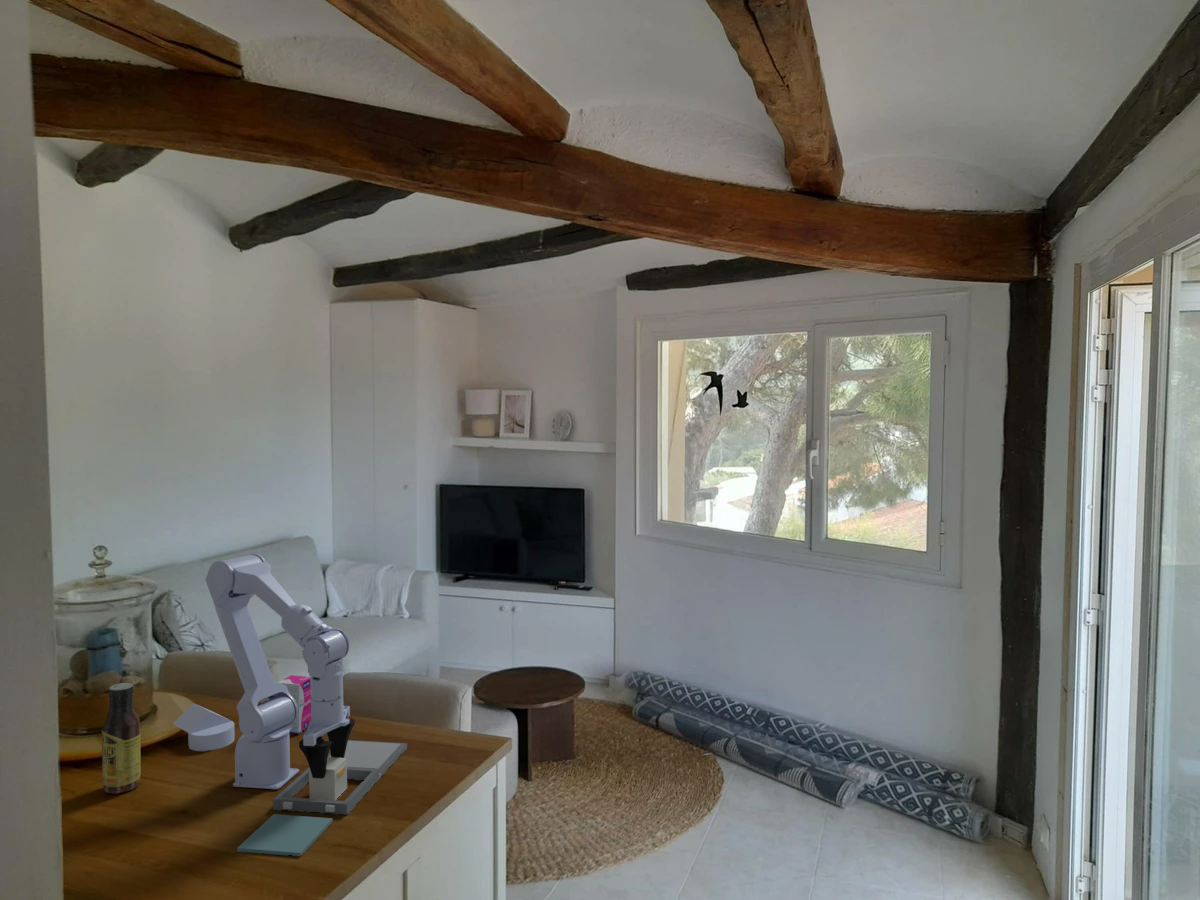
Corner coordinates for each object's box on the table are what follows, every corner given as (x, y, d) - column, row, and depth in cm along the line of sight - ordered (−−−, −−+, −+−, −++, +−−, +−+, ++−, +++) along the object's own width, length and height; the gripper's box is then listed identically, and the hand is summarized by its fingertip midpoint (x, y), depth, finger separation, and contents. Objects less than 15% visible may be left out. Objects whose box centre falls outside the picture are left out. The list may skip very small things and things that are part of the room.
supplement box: (299, 735, 175) (298, 684, 175) (275, 733, 176) (274, 682, 176) (313, 725, 181) (313, 676, 180) (290, 723, 182) (289, 674, 181)
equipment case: (271, 811, 141) (271, 800, 141) (345, 744, 170) (344, 735, 170) (345, 816, 139) (345, 805, 139) (407, 748, 168) (407, 738, 168)
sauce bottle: (98, 788, 150) (95, 685, 149) (134, 777, 155) (132, 677, 154) (109, 799, 146) (106, 693, 145) (146, 788, 150) (143, 685, 149)
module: (309, 799, 146) (308, 768, 146) (322, 787, 151) (321, 756, 150) (336, 801, 145) (335, 769, 145) (348, 789, 150) (347, 758, 150)
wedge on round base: (172, 739, 173) (200, 754, 165) (172, 708, 173) (199, 723, 165) (214, 726, 180) (242, 741, 172) (213, 697, 180) (241, 710, 172)
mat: (237, 851, 128) (237, 847, 128) (273, 817, 139) (273, 814, 139) (300, 856, 127) (300, 852, 127) (332, 821, 138) (332, 818, 138)
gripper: (329, 711, 139) (330, 787, 140) (364, 684, 154) (365, 752, 154) (291, 710, 140) (293, 785, 141) (329, 683, 155) (331, 751, 155)
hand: (328, 768), depth 148 cm, fingers open, 7 cm apart
